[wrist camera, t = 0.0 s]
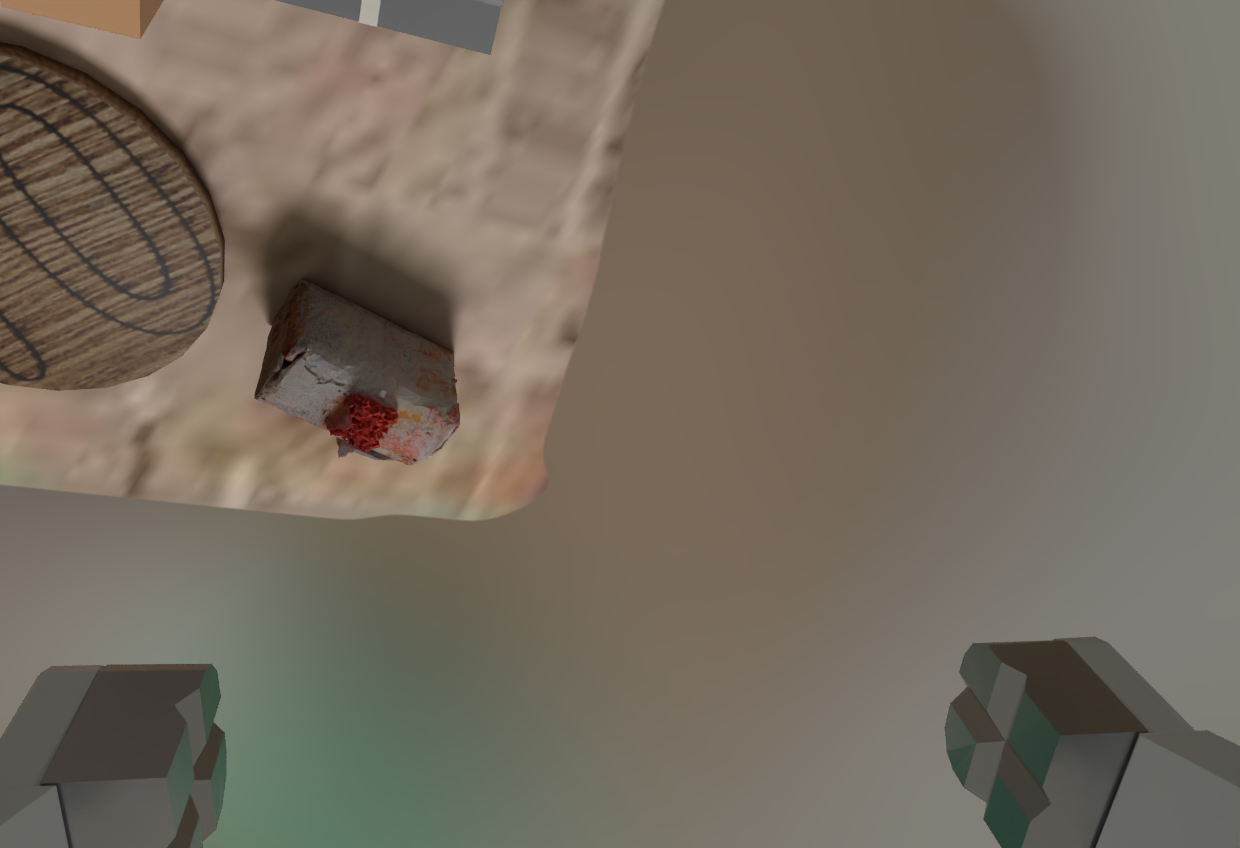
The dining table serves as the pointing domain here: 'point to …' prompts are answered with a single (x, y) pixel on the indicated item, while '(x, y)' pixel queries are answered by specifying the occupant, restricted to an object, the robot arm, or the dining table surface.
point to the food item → (359, 377)
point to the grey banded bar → (493, 2)
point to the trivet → (95, 233)
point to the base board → (421, 18)
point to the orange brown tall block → (95, 13)
